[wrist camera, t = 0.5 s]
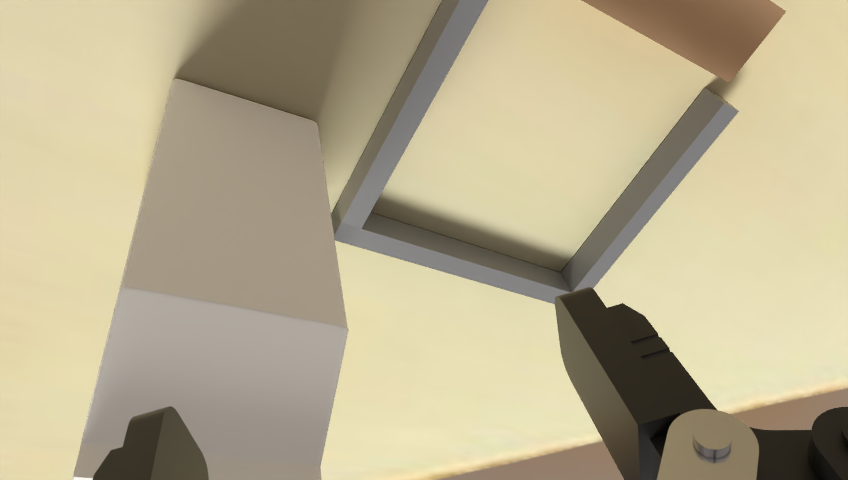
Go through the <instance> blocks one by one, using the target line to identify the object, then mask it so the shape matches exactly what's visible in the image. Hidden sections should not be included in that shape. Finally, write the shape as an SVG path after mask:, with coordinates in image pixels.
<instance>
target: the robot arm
mask: <svg viewBox="0 0 848 480" xmlns="http://www.w3.org/2000/svg"><path fill="white" fill-rule="evenodd" d="M555 308H556V316H557V324H558V332H559V340H560V348H561V354H562V358H563V362H564V365H565V368H566V371H567V373H568V375H569V378H570V380H571V382H572V383H573V385H574V387H575V389H576V391H577V393H578V395H579V396H580V398H581V400H582V402H583V404H584V406H585V408H586V409H587V411H588V413H589V415H590V417H591V419H592V421H593V422H594V424H595V426H596V428H597V430H598V432H599V434H600V435H601V437H602V439H603V441H604V443H605V444H606V447H607V448H608V450H609V452H610V454H611V456H612V458H613V459H614V461H615V463H616V465H617V467H618V469H619V471H620V472H621V474H622V476H623V478H624V480H848V407H839V408H834V409H831V410H828V411H826V412H824V413H822V414H821V415H820V416H818V418H817V419H816V420H815V421H814V424H813V426H812V430H760V429H754V428H751V427H748V426H747V425H746V424H745V423H744V422H742V421H741V420H740V419H738V418H736V417H735V416H733V415H731V414H728V413H725V412H722V411H718V410H717V409H716V408H715V407H714V406H713V405H712V403H711V402H710V401H709V399H708V398H707V397H706V396H705V394H704V393H703V392H702V390H701V389H700V388H699V386H698V385H697V384H696V383H695V381H694V380H693V379H692V377H691V376H690V375H689V373H688V372H687V371H686V370H685V368H684V367H683V366H682V364H681V363H680V362H679V360H678V359H677V358H676V356H675V355H674V354H673V353H672V352H670V350H669V347H668V346H667V345H666V343H665V342H664V341H663V340H662V338H661V337H660V338H659V336H658V333H657V332H656V330H655V329H654V328H653V327H652V325H651V324H650V323H649V321H648V320H647V319H646V317H645V316H643V315H642V314H640V313H638V312H637V311H635V310H633V309H632V308H630V307H628V306H626V305H625V304H623V303H622V304H619V305H616V306H612V307H609V308H606V306H605V305H604V303H603V302H602V300H601V299H600V298H599V296H598V295H597V293H596V292H595V291H594V289H593V288H591V287H587V288H583V289H580V290H576V291H573V292H569V293H566V294H563V295H559V296H556V297H555ZM93 480H209V476H208V469H207V464H206V461H205V458H204V456H203V454H202V452H201V450H200V448H199V447H198V445H197V443H196V442H195V440H194V438H193V437H192V435H191V433H190V432H189V430H188V428H187V427H186V425H185V423H184V422H183V420H182V418H181V417H180V415H179V414H178V412H177V411H176V409H175V408H173V407H171V406H169V407H165V408H162V409H158V410H155V411H151V412H148V413H144V414H141V415H137V416H134V417H132V418H131V420H130V421H129V424H128V428H127V432H126V435H125V439H124V443H123V447H120V448H117V449H113V450H111V451H110V452H109V454H108V455H107V456H106V458H105V459H104V461H103V462H102V464H101V465H100V467H99V468H98V470H97V471H96V472H95V474H94V476H93Z"/></svg>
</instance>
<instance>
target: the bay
mask: <svg viewBox="0 0 848 480" xmlns="http://www.w3.org/2000/svg"><path fill="white" fill-rule="evenodd" d="M487 2H488V0H442V2H441V4H440V6H439V8H438V10H437V12H436V14H435V16H434V17H433V19H432V21H431V23H430V25H429V27H428V29H427V31H426V33H425V35H424V37H423V39H422V41H421V43H420V44H419V46H418V48H417V50H416V52H415V54H414V56H413V58H412V60H411V62H410V64H409V66H408V68H407V69H406V71H405V73H404V75H403V77H402V79H401V81H400V83H399V85H398V87H397V89H396V91H395V93H394V94H393V96H392V98H391V100H390V102H389V104H388V106H387V108H386V110H385V112H384V114H383V116H382V118H381V119H380V121H379V123H378V125H377V127H376V129H375V131H374V133H373V135H372V137H371V139H370V141H369V143H368V144H367V146H366V148H365V150H364V152H363V154H362V156H361V158H360V160H359V162H358V164H357V166H356V168H355V170H354V171H353V173H352V175H351V177H350V179H349V181H348V183H347V185H346V187H345V189H344V191H343V193H342V195H341V196H340V198H339V200H338V202H337V204H336V206H335V208H334V210H333V212H332V214H331V219H332V226H333V233H334V240H336V241H339V242H343V243H346V244H350V245H353V246H356V247H360V248H363V249H367V250H370V251H374V252H377V253H381V254H384V255H387V256H391V257H394V258H398V259H401V260H405V261H408V262H412V263H415V264H418V265H422V266H425V267H429V268H432V269H436V270H439V271H443V272H446V273H449V274H453V275H456V276H460V277H463V278H467V279H470V280H474V281H477V282H480V283H484V284H487V285H491V286H494V287H498V288H501V289H505V290H508V291H511V292H515V293H518V294H522V295H525V296H529V297H532V298H536V299H539V300H542V301H546V302H549V303H553V304H555V297H556V296H559V295H563V294H566V293H569V292H573V291H576V290H580V289H583V288H587V287H591V288H594V287H595V286H596V284H597V283H598V282H599V281H600V279H601V278H602V277H603V276H604V275H605V273H606V272H607V271H608V270H609V268H610V267H611V266H612V265H613V264H614V262H615V261H616V260H617V259H618V258H619V256H620V255H621V254H622V253H623V251H624V250H625V249H626V248H627V247H628V245H629V244H630V243H631V242H632V241H633V239H634V238H635V237H636V236H637V234H638V233H639V232H640V231H641V230H642V228H643V227H644V226H645V225H646V224H647V222H648V221H649V220H650V219H651V217H652V216H653V215H654V214H655V213H656V211H657V210H658V209H659V208H660V206H661V205H662V204H663V203H664V202H665V200H666V199H667V198H668V197H669V196H670V194H671V193H672V192H673V191H674V189H675V188H676V187H677V186H678V185H679V183H680V182H681V181H682V180H683V179H684V177H685V176H686V175H687V174H688V172H689V171H690V170H691V169H692V168H693V166H694V165H695V164H696V163H697V162H698V160H699V159H700V158H701V157H702V155H703V154H704V153H705V152H706V151H707V149H708V148H709V147H710V146H711V144H712V143H713V142H714V141H715V140H716V138H717V137H718V136H719V135H720V134H721V132H722V131H723V130H724V129H725V127H726V126H727V125H728V124H729V123H730V121H731V120H732V119H733V118H734V117H735V115H736V114H737V113H738V112H739V111H738V110H737V109H735V108H734V107H733V106H732V105H730V104H729V103H728V102H727V101H725V100H724V99H723V98H722V97H720V96H719V95H717V94H715V93H714V92H712V91H710V90H708V89H706V88H704V89H703V91H702V92H701V93H700V94H699V96H698V97H697V98H696V100H695V101H694V102H693V103H692V105H691V106H690V107H689V109H688V110H687V111H686V112H685V114H684V115H683V116H682V118H681V119H680V120H679V121H678V123H677V124H676V125H675V127H674V128H673V129H672V130H671V132H670V133H669V134H668V136H667V137H666V138H665V139H664V141H663V142H662V143H661V145H660V146H659V147H658V148H657V150H656V151H655V152H654V154H653V155H652V156H651V157H650V159H649V160H648V161H647V163H646V164H645V165H644V166H643V168H642V169H641V170H640V172H639V173H638V174H637V175H636V177H635V178H634V179H633V181H632V182H631V183H630V184H629V186H628V187H627V188H626V190H625V191H624V192H623V193H622V195H621V196H620V197H619V199H618V200H617V201H616V202H615V204H614V205H613V206H612V208H611V209H610V210H609V211H608V213H607V214H606V215H605V217H604V218H603V219H602V220H601V222H600V223H599V224H598V226H597V227H596V228H595V229H594V231H593V232H592V233H591V235H590V236H589V237H588V238H587V240H586V241H585V242H584V244H583V245H582V246H581V247H580V249H579V250H578V251H577V253H576V254H575V255H574V256H573V258H572V259H571V260H570V262H569V263H568V264H567V265H566V267H565V268H564V269H563V271H562V272H561V273H559V272H556V271H553V270H550V269H547V268H544V267H541V266H537V265H534V264H531V263H528V262H525V261H522V260H519V259H515V258H512V257H509V256H506V255H503V254H500V253H497V252H493V251H490V250H487V249H484V248H481V247H478V246H475V245H471V244H468V243H465V242H462V241H459V240H456V239H453V238H449V237H446V236H443V235H440V234H437V233H434V232H431V231H428V230H424V229H421V228H418V227H415V226H412V225H409V224H406V223H402V222H399V221H396V220H393V219H390V218H387V217H384V216H380V215H377V214H374V213H371V210H372V209H373V207H374V205H375V203H376V201H377V200H378V198H379V196H380V194H381V192H382V191H383V189H384V187H385V185H386V183H387V182H388V180H389V178H390V176H391V174H392V173H393V171H394V169H395V167H396V165H397V164H398V162H399V160H400V158H401V156H402V155H403V153H404V151H405V149H406V147H407V146H408V144H409V142H410V140H411V138H412V137H413V135H414V133H415V131H416V129H417V128H418V126H419V124H420V122H421V120H422V119H423V117H424V115H425V113H426V111H427V110H428V108H429V106H430V104H431V102H432V101H433V99H434V97H435V95H436V93H437V92H438V90H439V88H440V86H441V84H442V83H443V81H444V79H445V77H446V75H447V74H448V72H449V70H450V68H451V66H452V65H453V63H454V61H455V59H456V57H457V56H458V54H459V52H460V50H461V48H462V47H463V45H464V43H465V41H466V39H467V38H468V36H469V34H470V32H471V30H472V29H473V27H474V25H475V23H476V21H477V20H478V18H479V16H480V14H481V12H482V11H483V9H484V7H485V5H486V3H487Z"/></svg>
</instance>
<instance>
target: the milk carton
mask: <svg viewBox="0 0 848 480" xmlns="http://www.w3.org/2000/svg"><path fill="white" fill-rule="evenodd" d="M347 334H348V328H347V321H346V315H345V308H344V301H343V294H342V287H341V281H340V274H339V267H338V260H337V253H336V246H335V240H334V233H333V226H332V219H331V212H330V206H329V199H328V192H327V185H326V178H325V171H324V165H323V158H322V151H321V144H320V137H319V131H318V125H317V123H316V122H314V121H312V120H309V119H306V118H303V117H300V116H297V115H294V114H290V113H287V112H284V111H281V110H278V109H274V108H271V107H268V106H265V105H262V104H258V103H255V102H252V101H249V100H246V99H242V98H239V97H236V96H233V95H230V94H226V93H223V92H220V91H217V90H214V89H210V88H207V87H204V86H201V85H198V84H194V83H191V82H188V81H184V80H181V79H173V81H172V83H171V87H170V91H169V95H168V99H167V103H166V106H165V110H164V114H163V118H162V122H161V126H160V130H159V134H158V138H157V142H156V145H155V149H154V153H153V157H152V161H151V165H150V169H149V173H148V177H147V181H146V185H145V188H144V192H143V196H142V200H141V204H140V208H139V212H138V216H137V220H136V224H135V228H134V232H133V236H132V240H131V244H130V248H129V252H128V256H127V260H126V264H125V268H124V272H123V276H122V280H121V284H120V288H119V292H118V296H117V300H116V304H115V308H114V312H113V316H112V320H111V324H110V328H109V332H108V336H107V340H106V344H105V348H104V352H103V356H102V360H101V364H100V368H99V372H98V376H97V380H96V384H95V388H94V392H93V396H92V400H91V404H90V408H89V412H88V416H87V420H86V424H85V428H84V432H83V437H82V442H81V447H80V451H79V455H78V459H77V463H76V467H75V471H74V475H73V480H93V476H94V474H95V472H96V471H97V470H98V468H99V467H100V465H101V464H102V462H103V461H104V459H105V458H106V456H107V455H108V454H109V452H110V451H111V450H113V449H117V448H120V447H123V443H124V439H125V435H126V432H127V428H128V424H129V421H130V420H131V418H132V417H134V416H137V415H141V414H144V413H148V412H151V411H155V410H158V409H162V408H165V407H169V406H171V407H173V408H175V409H176V411H177V412H178V414H179V415H180V417H181V418H182V420H183V422H184V423H185V425H186V427H187V428H188V430H189V432H190V433H191V435H192V437H193V438H194V440H195V442H196V443H197V445H198V447H199V448H200V450H201V452H202V454H203V456H204V458H205V461H206V464H207V469H208V476H209V480H321V469H320V466H321V461H322V456H323V451H324V446H325V441H326V436H327V431H328V426H329V422H330V417H331V412H332V407H333V402H334V397H335V392H336V388H337V383H338V378H339V373H340V368H341V363H342V358H343V354H344V349H345V344H346V339H347Z"/></svg>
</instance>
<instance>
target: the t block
mask: <svg viewBox="0 0 848 480" xmlns="http://www.w3.org/2000/svg"><path fill="white" fill-rule="evenodd" d="M582 1H584V2H586V3H587V4H589V5H591V6H593V7H595V8H596V9H598V10H600V11H602V12H604V13H605V14H607V15H609V16H611V17H613V18H614V19H616V20H618V21H620V22H621V23H623V24H625V25H627V26H629V27H630V28H632V29H634V30H636V31H638V32H639V33H641V34H643V35H645V36H646V37H648V38H650V39H652V40H654V41H655V42H657V43H659V44H661V45H663V46H664V47H666V48H668V49H670V50H672V51H673V52H675V53H677V54H679V55H680V56H682V57H684V58H686V59H688V60H689V61H691V62H693V63H695V64H697V65H698V66H700V67H702V68H704V69H705V70H707V71H709V72H711V73H713V74H714V75H716V76H718V77H720V78H722V79H723V80H725V81H727V82H729V83H730V81H731V80H732V79H733V78H734V76H735V75H736V74H737V73H738V71H739V70H740V69H741V68H742V66H743V65H744V64H745V63H746V61H747V60H748V59H749V58H750V56H751V55H752V54H753V53H754V51H755V50H756V49H757V48H758V46H759V45H760V44H761V42H762V41H763V40H764V39H765V37H766V36H767V35H768V34H769V32H770V31H771V30H772V29H773V27H774V26H775V25H776V24H777V22H778V21H779V20H780V19H781V17H782V16H783V15H784V14H785V12H786V11H785V10H783V9H782V8H780V7H779V6H777V5H776V4H774V3H773V2H771V1H770V0H582Z"/></svg>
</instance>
